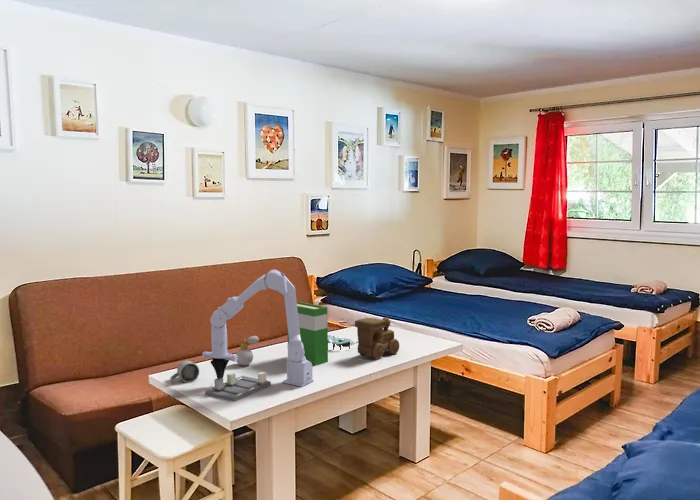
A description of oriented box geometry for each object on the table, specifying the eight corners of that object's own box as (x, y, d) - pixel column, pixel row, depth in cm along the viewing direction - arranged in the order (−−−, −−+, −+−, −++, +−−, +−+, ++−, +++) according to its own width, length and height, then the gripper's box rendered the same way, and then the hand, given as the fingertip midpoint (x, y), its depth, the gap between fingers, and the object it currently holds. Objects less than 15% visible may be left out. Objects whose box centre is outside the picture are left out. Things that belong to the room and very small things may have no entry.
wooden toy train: (372, 362, 238) (371, 324, 236) (353, 356, 246) (352, 320, 244) (402, 352, 252) (402, 316, 250) (383, 348, 260) (383, 313, 258)
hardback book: (287, 357, 245) (287, 304, 243) (300, 354, 251) (299, 301, 248) (315, 365, 233) (314, 309, 231) (327, 362, 238) (327, 307, 236)
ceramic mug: (194, 375, 222) (193, 357, 221) (200, 380, 215) (199, 362, 214) (168, 380, 217) (167, 361, 216) (173, 385, 210) (172, 366, 209)
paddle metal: (225, 388, 201) (225, 378, 201) (219, 391, 199) (219, 380, 198) (218, 386, 203) (218, 376, 203) (212, 389, 200) (211, 379, 200)
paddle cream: (268, 382, 208) (268, 372, 207) (263, 384, 205) (263, 374, 205) (261, 380, 210) (261, 371, 209) (255, 383, 207) (255, 373, 207)
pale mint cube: (238, 383, 207) (237, 373, 207) (232, 385, 204) (231, 375, 204) (230, 381, 209) (230, 372, 208) (224, 384, 206) (224, 374, 206)
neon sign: (380, 333, 273) (338, 344, 252) (380, 341, 273) (338, 354, 252) (349, 326, 288) (307, 337, 266) (349, 334, 288) (307, 345, 267)
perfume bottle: (231, 365, 235) (231, 337, 234) (250, 360, 242) (250, 333, 241) (242, 368, 230) (241, 340, 229) (261, 363, 237) (260, 335, 236)
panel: (270, 384, 210) (270, 378, 210) (234, 401, 193) (234, 395, 193) (242, 378, 217) (242, 373, 217) (205, 394, 200) (204, 388, 200)
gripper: (241, 341, 209) (242, 377, 210) (210, 338, 214) (211, 372, 216) (230, 346, 202) (231, 382, 204) (198, 342, 208) (199, 377, 209)
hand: (220, 377), depth 209 cm, fingers closed
